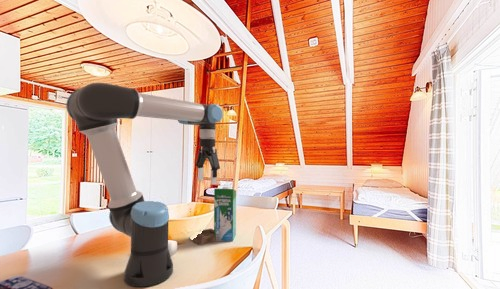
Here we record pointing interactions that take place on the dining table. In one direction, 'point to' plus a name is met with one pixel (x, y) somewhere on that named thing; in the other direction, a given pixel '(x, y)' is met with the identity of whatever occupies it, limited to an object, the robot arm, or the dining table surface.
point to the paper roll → (172, 247)
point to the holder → (205, 237)
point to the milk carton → (225, 214)
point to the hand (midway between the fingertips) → (206, 182)
